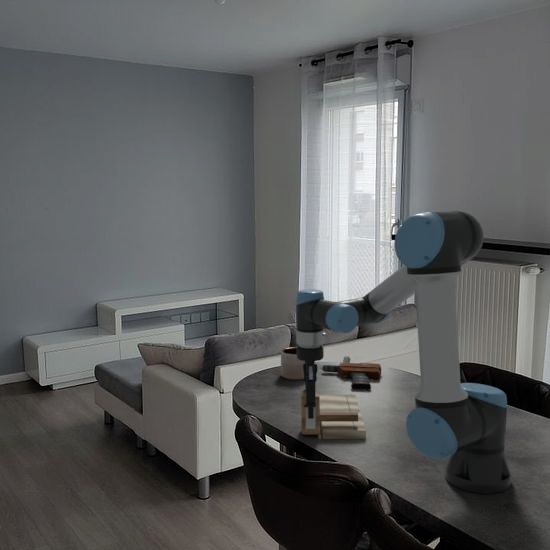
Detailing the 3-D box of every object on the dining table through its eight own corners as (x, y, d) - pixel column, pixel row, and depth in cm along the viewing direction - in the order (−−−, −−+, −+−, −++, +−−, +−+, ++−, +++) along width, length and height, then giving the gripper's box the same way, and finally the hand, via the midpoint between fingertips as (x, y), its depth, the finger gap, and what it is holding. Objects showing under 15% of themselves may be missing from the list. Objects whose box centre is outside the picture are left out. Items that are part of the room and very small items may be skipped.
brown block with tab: (358, 434, 181) (359, 396, 179) (301, 434, 181) (301, 396, 179) (356, 426, 187) (356, 389, 185) (301, 426, 187) (301, 389, 185)
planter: (278, 379, 233) (278, 354, 232) (283, 371, 244) (283, 346, 242) (308, 381, 232) (308, 355, 230) (311, 372, 242) (311, 347, 241)
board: (365, 439, 180) (366, 430, 180) (322, 438, 180) (322, 430, 180) (355, 402, 210) (355, 394, 209) (318, 402, 210) (318, 394, 209)
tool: (380, 382, 220) (382, 354, 249) (301, 378, 225) (312, 351, 254) (379, 394, 221) (382, 365, 249) (301, 389, 226) (312, 361, 254)
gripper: (325, 353, 171) (325, 437, 174) (321, 336, 190) (321, 412, 193) (297, 353, 171) (297, 437, 174) (296, 336, 190) (296, 412, 193)
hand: (310, 423), depth 184 cm, fingers closed on brown block with tab, 6 cm apart
